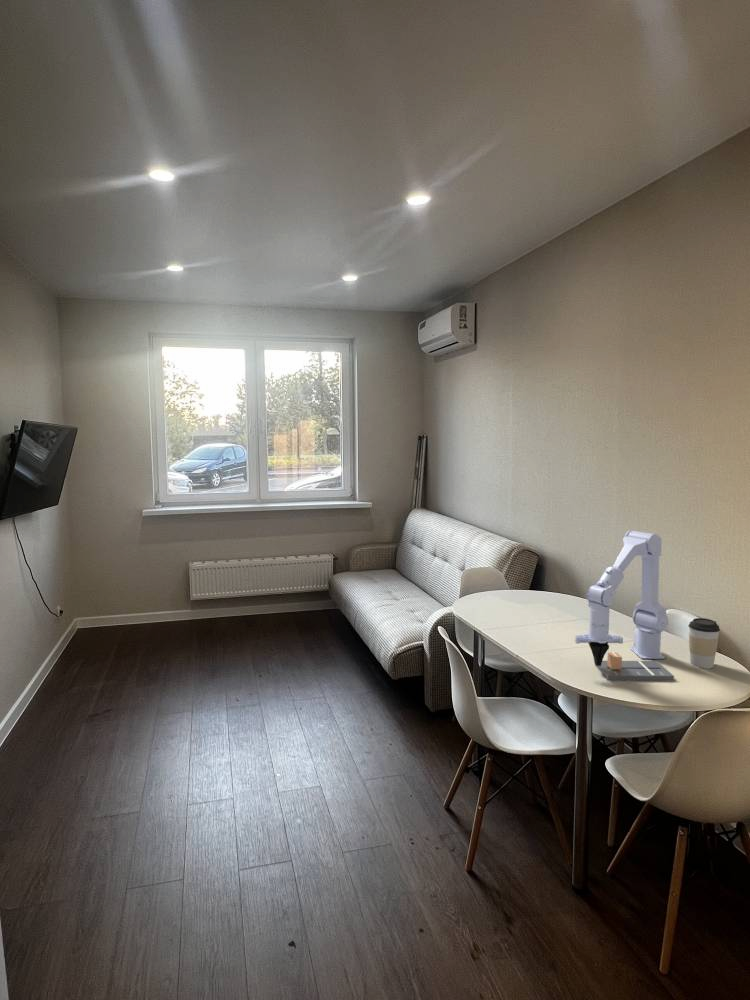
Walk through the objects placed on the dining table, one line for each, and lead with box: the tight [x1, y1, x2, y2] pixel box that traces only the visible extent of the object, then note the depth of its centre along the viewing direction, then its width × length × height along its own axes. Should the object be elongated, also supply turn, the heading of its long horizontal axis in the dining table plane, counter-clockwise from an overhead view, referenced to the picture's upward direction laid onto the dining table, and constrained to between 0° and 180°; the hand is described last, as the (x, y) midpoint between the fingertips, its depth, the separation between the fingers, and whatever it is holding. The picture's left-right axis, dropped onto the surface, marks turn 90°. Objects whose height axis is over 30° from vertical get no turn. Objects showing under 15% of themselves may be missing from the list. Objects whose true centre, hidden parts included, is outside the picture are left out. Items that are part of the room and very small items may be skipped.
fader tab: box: [606, 651, 623, 669], centre depth 190 cm, size 4×3×4 cm
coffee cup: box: [688, 617, 721, 669], centre depth 196 cm, size 9×9×15 cm
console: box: [594, 660, 675, 682], centre depth 191 cm, size 12×20×2 cm, turn 88°
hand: (597, 664), depth 191 cm, fingers closed
